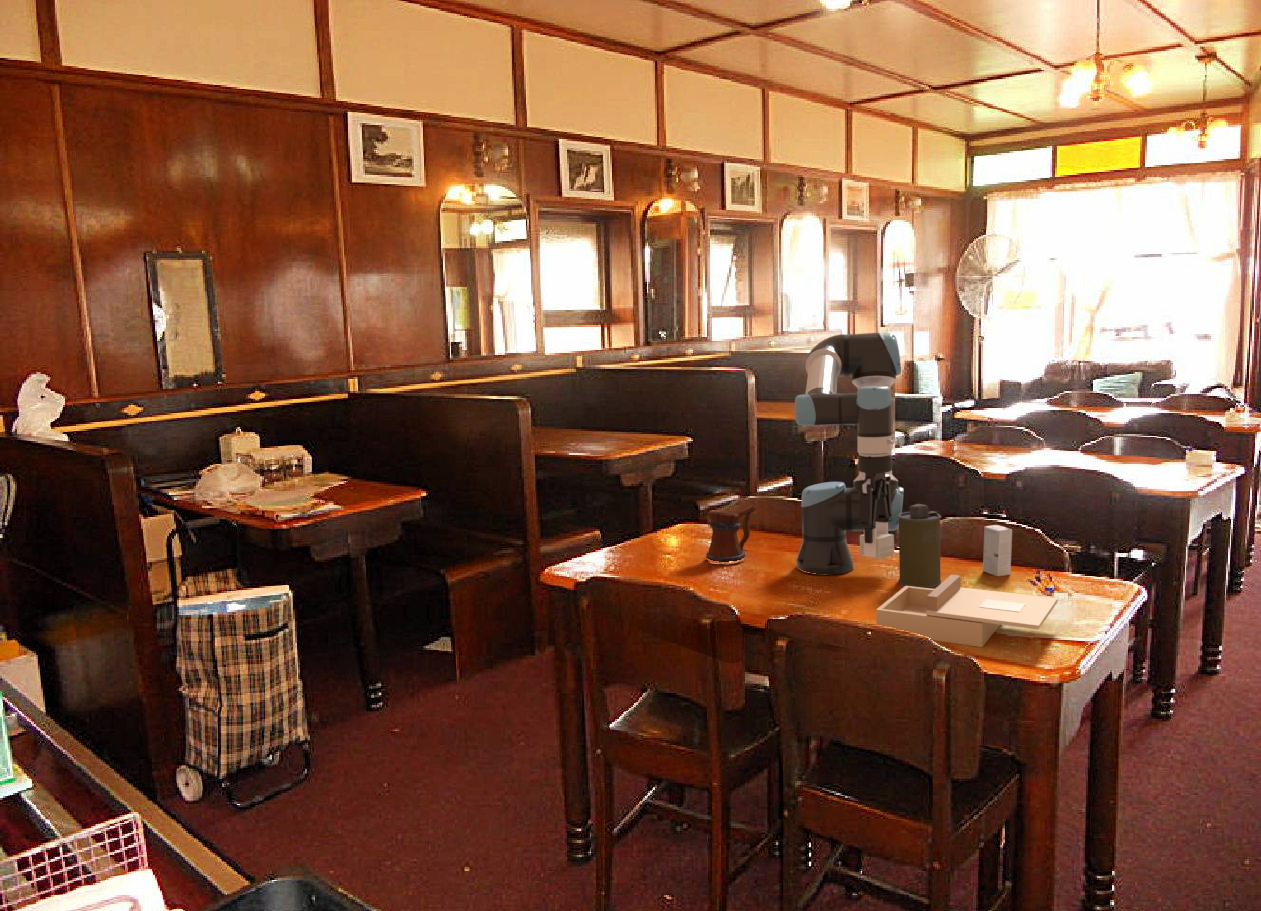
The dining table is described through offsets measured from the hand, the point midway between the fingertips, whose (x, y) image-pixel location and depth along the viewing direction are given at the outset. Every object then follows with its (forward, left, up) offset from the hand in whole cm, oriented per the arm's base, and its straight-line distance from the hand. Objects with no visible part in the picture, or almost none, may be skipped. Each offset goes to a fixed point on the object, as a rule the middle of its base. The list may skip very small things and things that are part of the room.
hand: (876, 552), depth 215 cm
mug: (-53, +29, -14) cm, 62 cm away
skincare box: (+17, +42, -14) cm, 47 cm away
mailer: (+16, -5, -14) cm, 22 cm away
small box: (0, 0, -1) cm, 1 cm away
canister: (+2, +26, -14) cm, 29 cm away
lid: (+27, -5, -8) cm, 29 cm away
